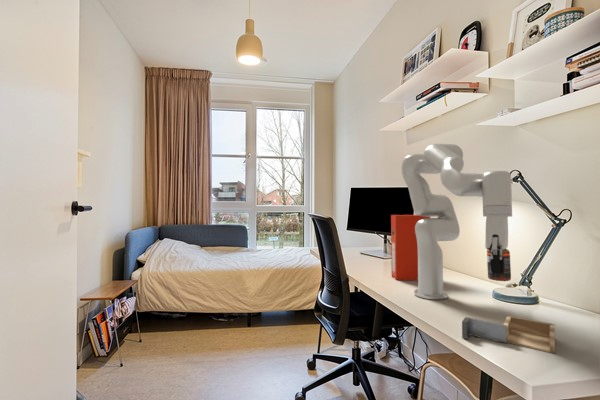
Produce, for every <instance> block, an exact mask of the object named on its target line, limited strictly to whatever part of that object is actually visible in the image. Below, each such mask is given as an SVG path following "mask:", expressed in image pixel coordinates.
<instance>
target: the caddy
mask: <svg viewBox="0 0 600 400" xmlns="http://www.w3.org/2000/svg"><path fill="white" fill-rule="evenodd" d="M503 322H504V323H503V324H502V325H507V343H506V344H513V345H516V346H519V347H525V348H528V349H529V348H530V349H533V350H538V351H542V352H546V353H551V354H556V334H555V333H556V330H555V327H556V325H555V324H554V323H550V322H549V323H548V322H543V321H538V320H534V319H533V320H532V319H528V318H521V317H518V316H517V317H516V316H513V315H512V316H511V315H507V316H506V318H505V321H503Z"/></svg>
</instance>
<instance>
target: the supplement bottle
mask: <svg viewBox="0 0 600 400" xmlns="http://www.w3.org/2000/svg"><path fill="white" fill-rule="evenodd" d="M500 247H501V245H500ZM500 247H498V249H501V248H500ZM486 259H487V261H486V264H487V267H486V268H487V278H488V279H489V280H491V281H496V282H508V281H511V279H512V278H511V277H512V273H511V272H512V271H511V270H512V269H511V252H510V250H509V249H508V248H506V249H504V250H503V251H502V260H504V273H503V274H498V273H492V272H491V247H490V249H486Z"/></svg>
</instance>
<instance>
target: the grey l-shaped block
mask: <svg viewBox="0 0 600 400" xmlns="http://www.w3.org/2000/svg"><path fill="white" fill-rule="evenodd" d="M470 336H473V337H474V336H475V337H478V338H483V339H487V340H491V341H494V342H495V341H496V342H500V343H505V344H508V343H507V325H503V324H501V323H497V322H492V321H487V320H482V319H476V318H473V317H467V316H465V317H464V318H463V320H461V337H462V339H466V340H467V339H468V338H469V337H470Z"/></svg>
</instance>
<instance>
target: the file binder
mask: <svg viewBox="0 0 600 400" xmlns="http://www.w3.org/2000/svg"><path fill="white" fill-rule="evenodd" d="M425 218H431V217H421V216H418V215H416V214H402V215H401V214H391V215H390V228H391V229H390V232H391V234H390V236H391V238H390V239H391V240H390V241H391V244H390V245H391V248H390V249H391V251H390V253H391V256H390V257H391V260H390V261H391V263H390V264H391V277H392V278H393V279H394V278H395V279H396V281H407V280H408V281H418V246H417V238H416V233H415V225H416V223H417V222H418V221H419V220H421V219H425ZM395 279H394V280H395Z"/></svg>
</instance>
